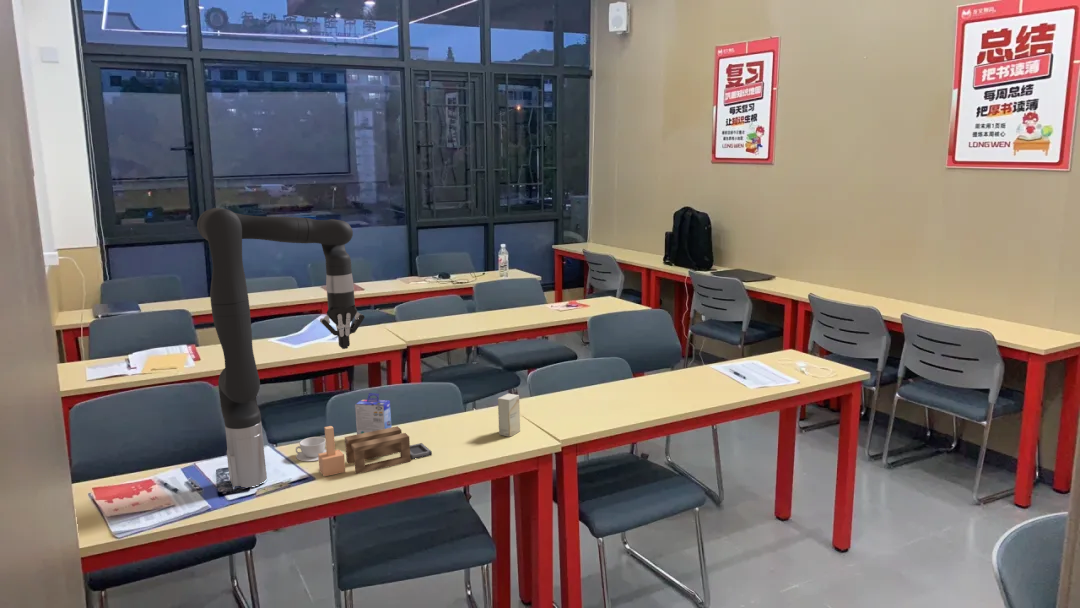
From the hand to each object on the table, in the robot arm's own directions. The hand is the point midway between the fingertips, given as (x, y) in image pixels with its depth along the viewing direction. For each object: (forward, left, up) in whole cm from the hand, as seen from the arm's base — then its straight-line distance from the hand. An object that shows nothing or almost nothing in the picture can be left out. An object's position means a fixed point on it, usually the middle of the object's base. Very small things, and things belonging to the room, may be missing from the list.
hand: (344, 348), depth 223 cm
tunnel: (+5, -9, -33) cm, 35 cm away
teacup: (-10, +6, -33) cm, 35 cm away
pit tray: (+17, -9, -33) cm, 38 cm away
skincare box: (+48, -10, -33) cm, 59 cm away
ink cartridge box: (+10, +9, -33) cm, 36 cm away
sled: (-8, -9, -33) cm, 35 cm away
